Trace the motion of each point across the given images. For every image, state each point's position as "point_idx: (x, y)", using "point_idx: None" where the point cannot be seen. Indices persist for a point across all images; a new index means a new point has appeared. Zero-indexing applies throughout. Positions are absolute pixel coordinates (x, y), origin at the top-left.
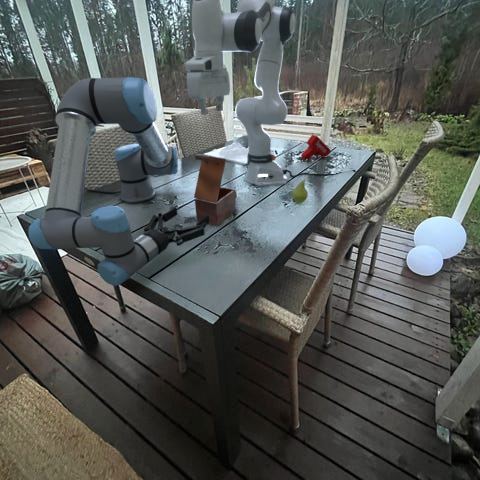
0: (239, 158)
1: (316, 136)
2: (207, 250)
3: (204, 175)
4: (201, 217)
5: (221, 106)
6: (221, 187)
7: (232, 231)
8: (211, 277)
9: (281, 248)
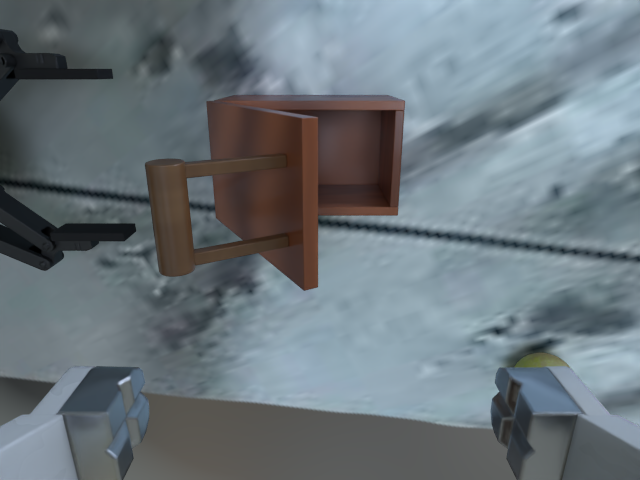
0: None
1: None
2: None
3: (250, 150)
4: None
5: (548, 469)
6: (395, 142)
7: None
8: (18, 304)
9: (223, 397)
